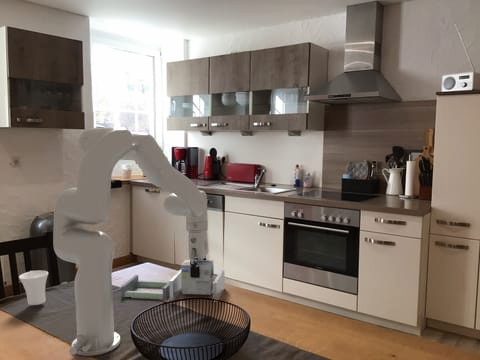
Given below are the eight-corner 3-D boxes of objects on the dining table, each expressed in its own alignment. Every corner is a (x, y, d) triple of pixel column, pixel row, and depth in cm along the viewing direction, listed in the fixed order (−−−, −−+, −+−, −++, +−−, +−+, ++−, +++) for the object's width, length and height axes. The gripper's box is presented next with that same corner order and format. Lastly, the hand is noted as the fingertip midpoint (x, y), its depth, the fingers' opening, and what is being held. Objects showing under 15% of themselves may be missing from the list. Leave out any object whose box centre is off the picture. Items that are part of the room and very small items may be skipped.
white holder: (216, 303, 145) (216, 282, 144) (169, 300, 147) (169, 280, 147) (224, 288, 158) (224, 270, 158) (181, 286, 161) (181, 268, 160)
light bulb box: (214, 288, 156) (214, 259, 154) (211, 295, 149) (210, 265, 148) (185, 287, 157) (184, 258, 156) (181, 294, 150) (180, 264, 149)
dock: (166, 299, 148) (165, 288, 148) (121, 297, 151) (121, 286, 151) (177, 287, 161) (176, 276, 160) (135, 285, 163) (135, 275, 163)
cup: (47, 295, 151) (45, 267, 150) (52, 303, 143) (50, 274, 142) (19, 300, 146) (17, 272, 145) (22, 309, 138) (20, 279, 137)
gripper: (201, 231, 141) (203, 281, 143) (212, 220, 158) (214, 265, 160) (179, 231, 143) (181, 281, 145) (193, 220, 160) (194, 264, 162)
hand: (198, 272), depth 153 cm, fingers open, 9 cm apart
